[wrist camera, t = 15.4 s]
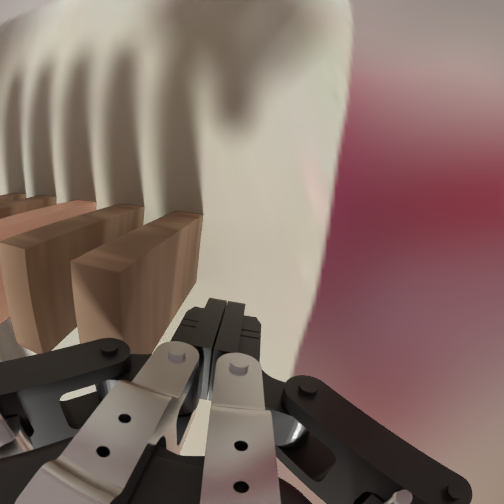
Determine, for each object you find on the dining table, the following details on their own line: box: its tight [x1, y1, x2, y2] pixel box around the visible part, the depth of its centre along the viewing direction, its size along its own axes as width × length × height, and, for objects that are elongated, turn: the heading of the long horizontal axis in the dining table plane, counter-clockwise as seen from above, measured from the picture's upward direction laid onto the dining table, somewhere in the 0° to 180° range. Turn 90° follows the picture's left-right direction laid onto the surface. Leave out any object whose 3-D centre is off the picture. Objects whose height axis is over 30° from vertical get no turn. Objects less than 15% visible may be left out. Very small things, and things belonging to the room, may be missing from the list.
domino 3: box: [0, 204, 144, 354], centre depth 14 cm, size 2×5×12 cm, turn 171°
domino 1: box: [0, 195, 56, 219], centre depth 15 cm, size 2×5×12 cm, turn 171°
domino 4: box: [70, 211, 203, 354], centre depth 14 cm, size 2×5×12 cm, turn 171°
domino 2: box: [0, 200, 96, 324], centre depth 15 cm, size 2×5×12 cm, turn 171°
